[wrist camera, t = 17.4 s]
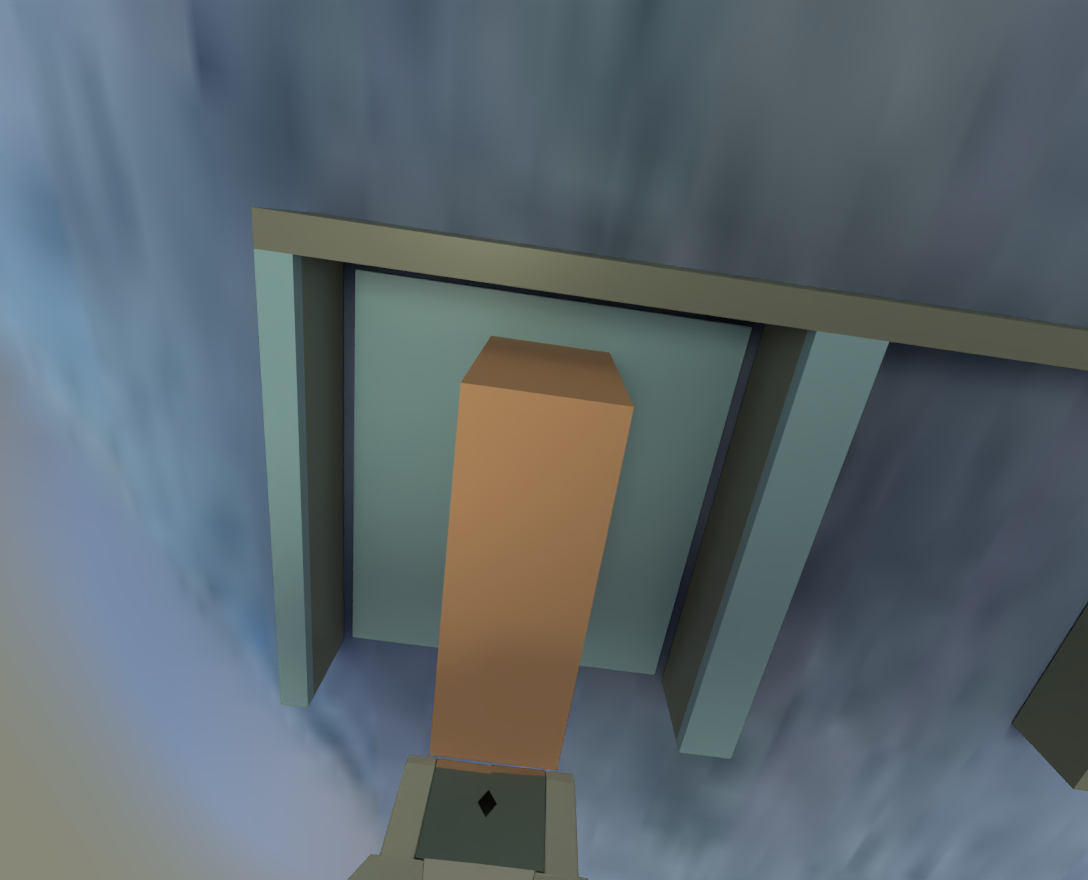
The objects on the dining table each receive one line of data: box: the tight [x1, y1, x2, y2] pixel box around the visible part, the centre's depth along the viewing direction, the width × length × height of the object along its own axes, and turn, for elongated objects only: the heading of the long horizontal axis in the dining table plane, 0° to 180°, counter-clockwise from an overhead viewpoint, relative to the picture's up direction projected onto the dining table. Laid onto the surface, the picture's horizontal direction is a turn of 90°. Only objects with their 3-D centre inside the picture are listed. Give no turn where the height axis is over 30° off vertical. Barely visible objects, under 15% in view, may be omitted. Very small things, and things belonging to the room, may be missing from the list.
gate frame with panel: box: [251, 207, 1088, 791], centre depth 18 cm, size 32×17×4 cm, turn 82°
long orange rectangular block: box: [429, 336, 634, 770], centre depth 17 cm, size 4×12×6 cm, turn 172°
